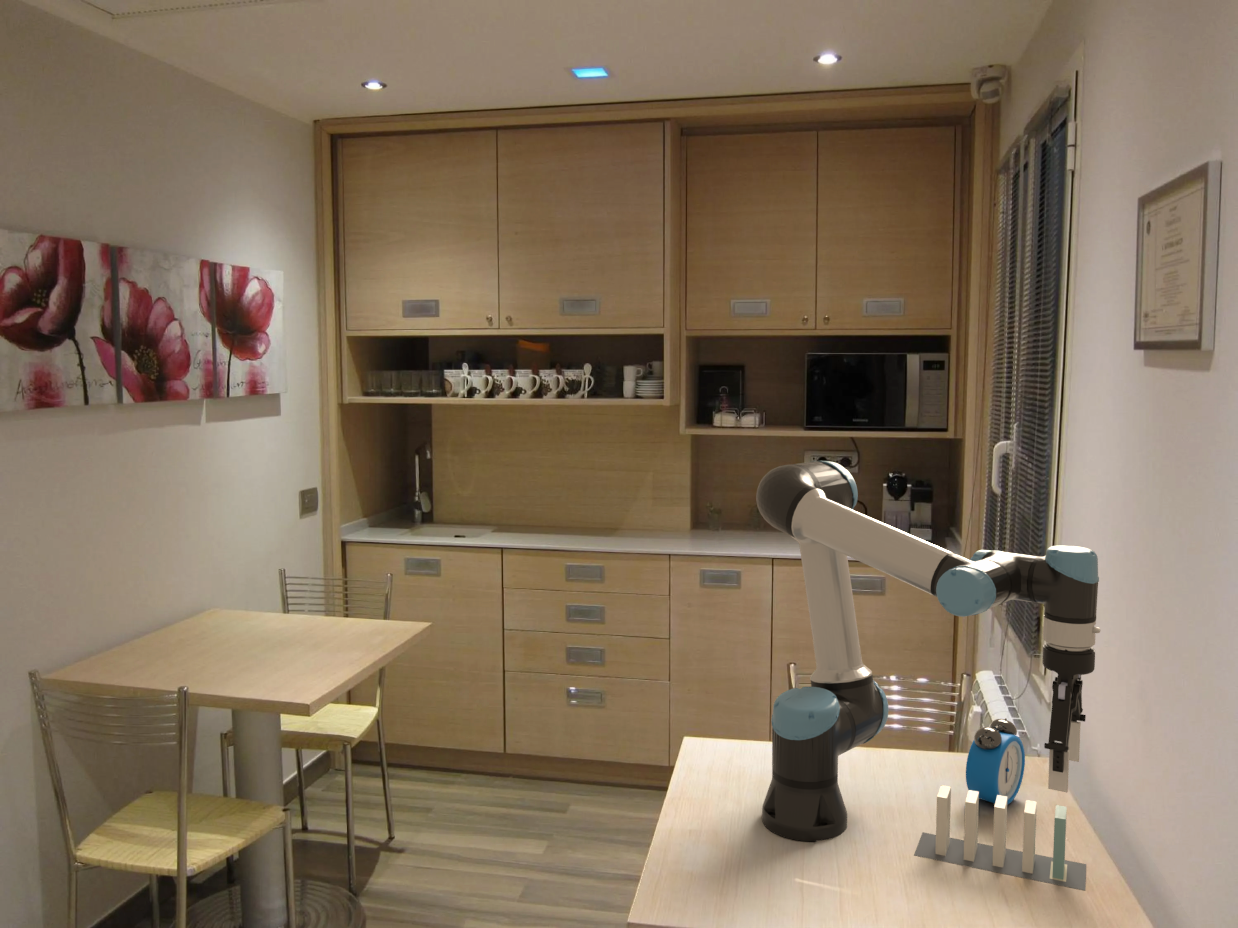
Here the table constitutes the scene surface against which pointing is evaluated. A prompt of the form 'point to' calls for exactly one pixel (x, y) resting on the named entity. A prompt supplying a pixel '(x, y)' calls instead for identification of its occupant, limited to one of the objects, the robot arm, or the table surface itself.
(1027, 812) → the domino
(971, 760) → the alarm clock
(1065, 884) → the mat
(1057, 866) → the domino
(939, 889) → the table surface
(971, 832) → the domino
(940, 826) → the domino
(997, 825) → the domino
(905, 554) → the robot arm
